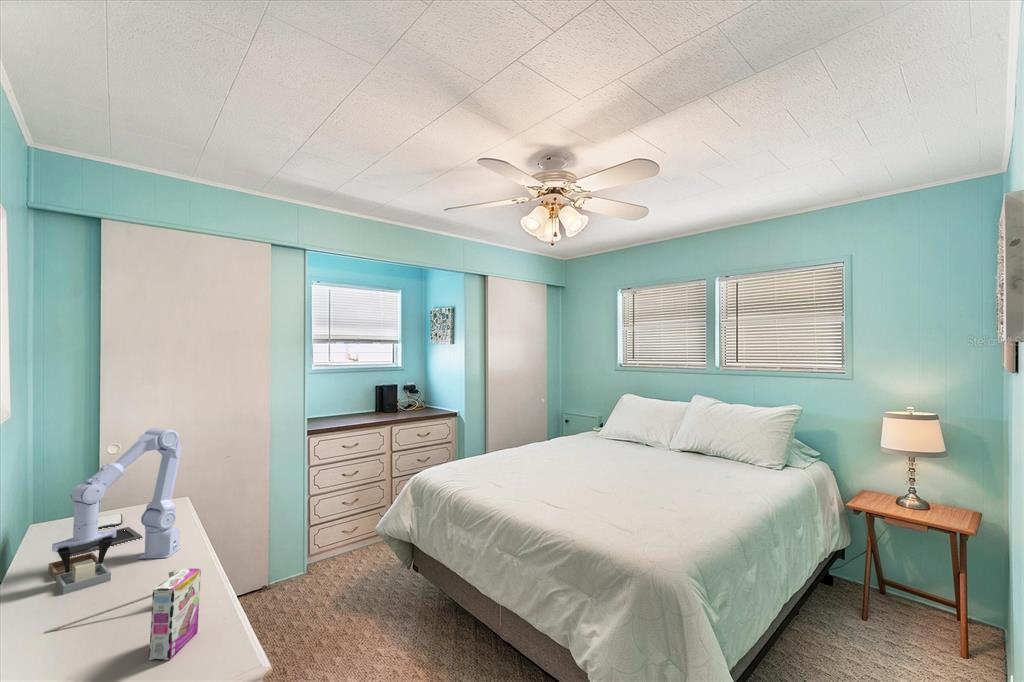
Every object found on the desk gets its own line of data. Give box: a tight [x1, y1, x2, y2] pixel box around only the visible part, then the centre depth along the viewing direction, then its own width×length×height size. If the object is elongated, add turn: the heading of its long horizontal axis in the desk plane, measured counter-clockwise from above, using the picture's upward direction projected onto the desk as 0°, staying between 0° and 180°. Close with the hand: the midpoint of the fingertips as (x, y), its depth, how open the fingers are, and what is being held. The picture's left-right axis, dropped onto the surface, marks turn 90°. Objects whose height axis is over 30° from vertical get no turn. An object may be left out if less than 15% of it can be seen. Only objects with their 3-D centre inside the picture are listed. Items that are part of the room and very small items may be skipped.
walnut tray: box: [47, 552, 99, 582], centre depth 149 cm, size 11×11×2 cm
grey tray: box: [55, 562, 112, 595], centre depth 142 cm, size 11×11×2 cm
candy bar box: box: [148, 568, 202, 662], centre depth 112 cm, size 11×5×16 cm, turn 5°
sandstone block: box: [72, 559, 95, 583], centre depth 142 cm, size 4×4×5 cm
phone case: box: [98, 513, 123, 529], centre depth 191 cm, size 9×2×16 cm
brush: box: [43, 567, 177, 634], centre depth 125 cm, size 4×27×9 cm, turn 121°
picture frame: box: [69, 526, 143, 558], centre depth 171 cm, size 16×2×21 cm
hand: (84, 567), depth 142 cm, fingers open, 7 cm apart
